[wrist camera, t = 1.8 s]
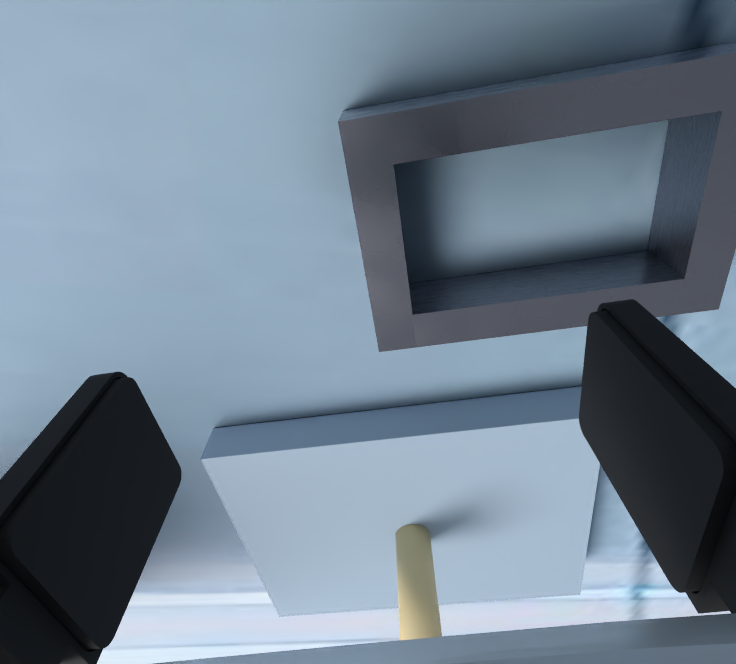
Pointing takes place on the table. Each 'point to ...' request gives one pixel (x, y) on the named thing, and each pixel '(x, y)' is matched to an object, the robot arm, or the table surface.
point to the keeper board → (412, 504)
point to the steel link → (540, 122)
